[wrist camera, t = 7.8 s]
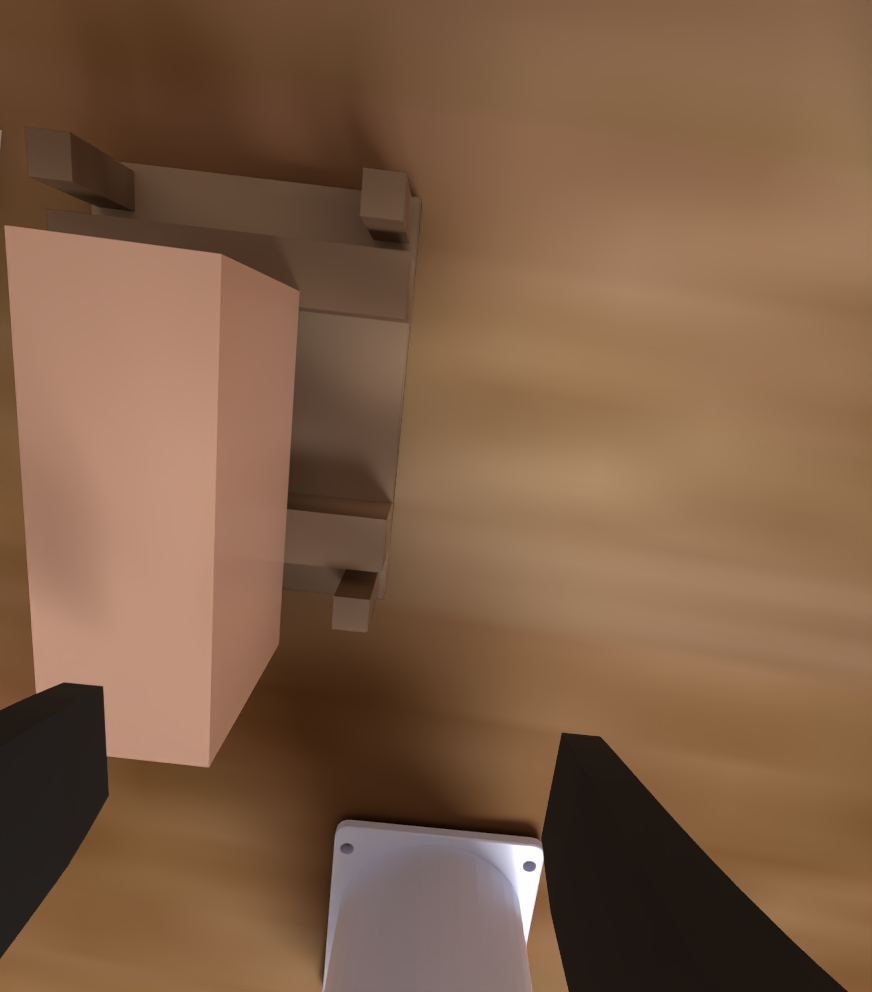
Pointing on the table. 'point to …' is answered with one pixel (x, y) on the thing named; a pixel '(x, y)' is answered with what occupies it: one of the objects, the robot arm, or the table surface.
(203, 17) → the table surface
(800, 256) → the table surface
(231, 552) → the salmon pink block
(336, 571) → the rack
